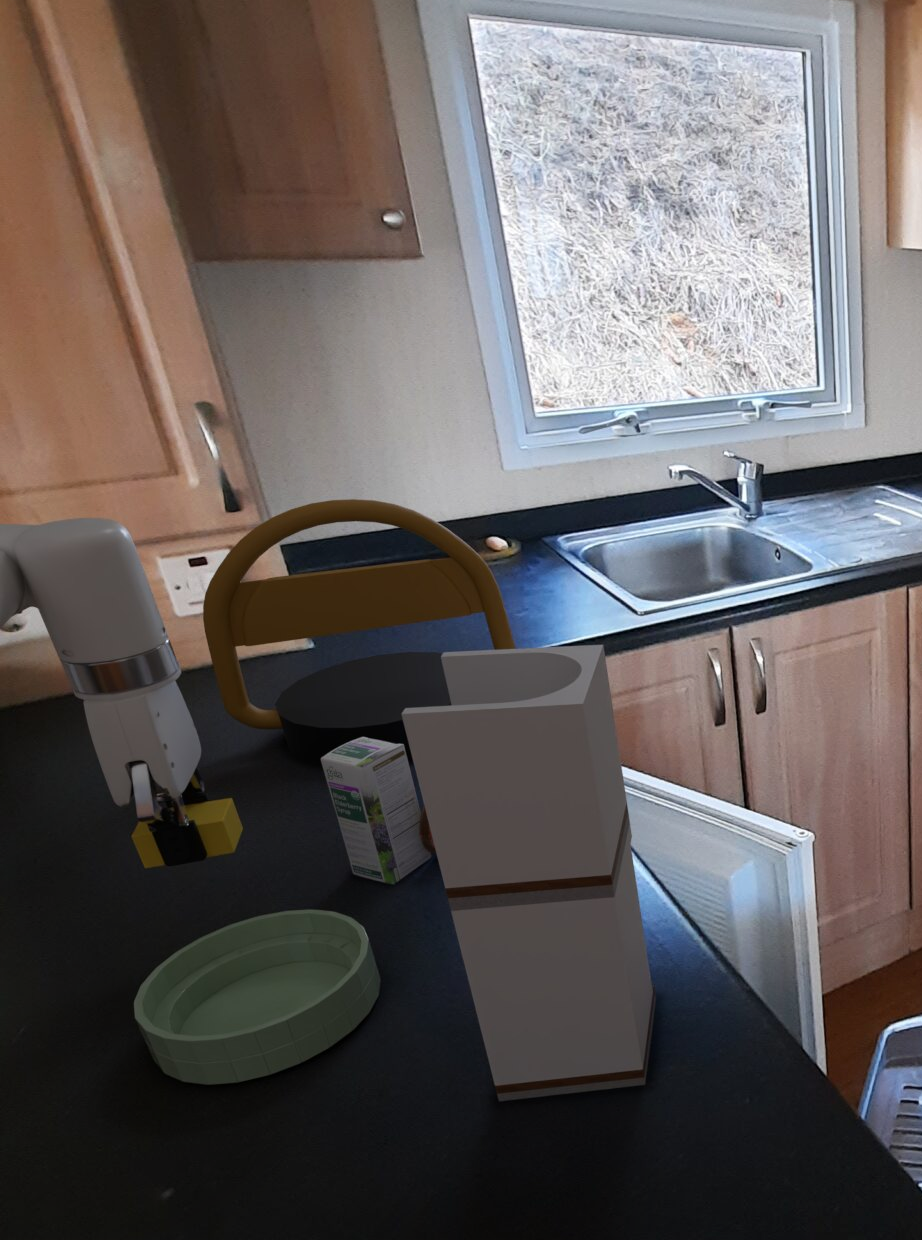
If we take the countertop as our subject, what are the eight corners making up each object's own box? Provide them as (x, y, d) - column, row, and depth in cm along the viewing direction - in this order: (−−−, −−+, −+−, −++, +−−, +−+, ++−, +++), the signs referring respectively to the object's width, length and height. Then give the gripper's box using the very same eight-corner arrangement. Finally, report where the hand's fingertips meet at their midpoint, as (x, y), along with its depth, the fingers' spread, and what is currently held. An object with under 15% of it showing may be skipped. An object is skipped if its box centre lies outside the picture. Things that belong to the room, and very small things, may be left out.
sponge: (144, 869, 94) (130, 836, 93) (157, 843, 98) (143, 811, 97) (234, 852, 97) (222, 820, 95) (243, 828, 101) (232, 797, 99)
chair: (539, 739, 141) (495, 507, 127) (234, 797, 126) (145, 543, 112) (515, 673, 161) (474, 465, 146) (248, 716, 146) (174, 491, 132)
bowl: (131, 1116, 83) (107, 1064, 80) (181, 981, 97) (162, 934, 94) (374, 1058, 89) (358, 1008, 86) (388, 939, 103) (375, 893, 100)
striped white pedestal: (656, 1001, 96) (603, 644, 80) (645, 1088, 86) (583, 703, 70) (525, 1014, 94) (443, 652, 78) (499, 1104, 84) (401, 714, 68)
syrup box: (351, 877, 112) (315, 758, 106) (394, 848, 117) (362, 733, 111) (394, 887, 111) (360, 767, 104) (435, 858, 116) (405, 741, 109)
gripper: (99, 638, 95) (168, 811, 103) (34, 714, 81) (120, 907, 89) (196, 627, 97) (255, 796, 106) (149, 699, 83) (222, 887, 92)
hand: (193, 845), depth 97 cm, fingers closed on sponge, 4 cm apart
